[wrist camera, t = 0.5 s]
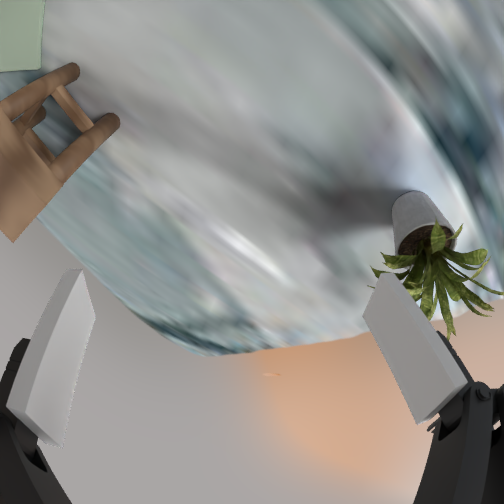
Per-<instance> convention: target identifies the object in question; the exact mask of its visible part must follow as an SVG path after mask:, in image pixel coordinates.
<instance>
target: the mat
mask: <svg viewBox="0 0 504 504" xmlns="http://www.w3.org/2000/svg"><path fill="white" fill-rule="evenodd" d="M44 7H45V0H0V72H5V71H17V70H38V69H40V68H41V41H42V26H43V15H44Z"/></svg>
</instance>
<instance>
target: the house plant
mask: <svg viewBox="0 0 504 504" xmlns="http://www.w3.org/2000/svg"><path fill="white" fill-rule="evenodd" d="M392 220H393V231H394V243H395V256H390V255H384V254H383V253H381V254H382V255H383V257H384V259H385V262H386V263H384V264H385V265H386V266H388V267H389V268H392V269H397V268H405V269H408V270H407V271H406V272H404V273H400V274H398V273H394V274H395V275H396V277H397V278H398V279H399V280H402V279H403V278H405V277H406V276H407V275H408V276H407V277H406V279H405V281H404V282H403V284H402V285H403V286H404V287H405V288H406V290H407V291H408V293H409V294H410V295H411V297H412V298H413V299H414V301H415V302H416V301H418V300H419V299H420V298H422V299H421V304H420V309H421V310H422V312H423V313H424V315H425V316H426V317H427V319H428V320H429V321H430V320H431V318H432V316H433V314H434V312H435V309H436V305H437V300H438V299H439V303H440V308H441V313H442V316H443V318H444V320H445V323H446V324H447V339H448V341H449V339H450V334H451V332H452V333H453V334H454V335H456V334H455V329H454V326H453V318H452V315H451V312H450V309H449V302H448V297H447V293H446V290H447V292H448V294H449V296H450V298H451V299H452V300H453V301H459V300H460V299H461V298H462V300H463V301H464V303H465V304H466V305H467V307H468V308H469V309H470V310H471V311H472V312H474V313H476V314H477V315H480V316H485V317H488V316H487V315H484V314H482V313H480V312H478V311H477V310H476V309H475V308H474V307H473V306H472V305H471V304H470V303H469V301H471V302H472V303H474V304H475V305H477V306H479V307H480V308H482V309H484V310H487V311H493V310H492V309H493V308H492V307H491V306H490V305H489V304H486V303H484V302H483V301H482V299H481V298H480V297H479V296H477V295H476V294H474V293H473V292H471V291H470V290H469V289H468V288H467V287H466V286H465V285H464V284H463V283H462V282H465V281H467V280H470V281H472V282H473V283H475V284H477V285H478V286H480V287H482V288H483V289H485V290H487V291H489V292H491V293H494V294H498V295H504V292H498V291H495V290H491V289H489V288H487V287H485V286H484V285H482V284H480V283H478V282H477V281H475V280H473V279H472V278H475V277H477V276H478V274H479V273H480V272H481V271H482V269H483V267H484V266H485V265H486V264H487V263H488V261H489V259H490V258H489V259H488V260H487V262H486V263H485V262H484V263H483V264H482V266H481V267H480V268H473V267H470V266H468V265H465V264H469V265H479V264H481V263H482V262H483V261H484V259H485V258H486V255H487V252H488V249H487V250H485V249H478V250H475V251H472V252H468V253H459V252H455V251H454V249H455V247H456V244H457V237H458V235H459V234H460V232H461V230H462V225H463V224H462V225H461V226H460V228H459V229H458V231H457V232H455V231H454V229H453V228H452V226H451V225H450V224H449V222H448V221H447V220H446V218H445V217H444V216H443V214H442V213H441V212H440V210H439V209H438V208H437V207H436V205H435V204H434V203H433V202H432V200H431V199H430V198H429V197H428V195H426V194H425V193H423V192H420V191H412V192H408V193H405V194H403V195H402V196H400V197H399V198H398V199H397V200H396V201H395V203H394V205H393V207H392ZM491 256H492V255H491ZM447 259H449V260H450V261H453V262H454V263H456V264H458V265H459V266H461V267H462V268H465V269H467V270H477V269H479V270H478V271H477V272H476V273H475V274H474V275H473V276H472V277H471V278H469V277H468V276H466V275H464V274H463V273H461V272H460V271H458V270H457V269H455V268H454V267H453V266H451V265H450V264H449V263H448V262H447V261H446V260H447ZM463 263H465V264H463ZM447 264H448V265H449V266H450V267H452V268H453V269H454V270H455V271H457V272H458V273H459V274H461V275H462V276H464V277H465V278H464V277H462V276H460V275H458V274H456V273H455V272H453V270H452V269H451V268H449V266H448V265H447ZM371 268H372V267H371ZM372 270H373V272H374V274H375V276H376V277H377V278H378V279H379V277H380V274H381V273H391V272H386V271H379V270H376V269H373V268H372ZM410 270H411V271H410ZM423 271H424V273H423ZM409 272H410V273H409ZM423 279H424V280H423ZM434 281H435V285H436V294H435V298H434V302H433V289H434ZM422 284H423V288H422ZM367 286H368V285H367ZM444 286H445V287H444ZM369 287H372V286H369ZM372 288H374V289H375V287H372ZM445 288H446V290H445ZM422 292H423V293H422ZM421 293H422V294H421ZM420 294H421V295H420ZM467 299H468V300H469V301H468V300H467Z"/></svg>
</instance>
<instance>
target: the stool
mask: <svg viewBox="0 0 504 504" xmlns="http://www.w3.org/2000/svg"><path fill="white" fill-rule="evenodd" d="M79 75H80V69H79V66H78V65H77V64H76V63H69V64H67V65H65V66H63V67H61V68H58V69H56V70H54V71H52V72H50V73H48V74H46V75H45V76H43V77H41V78H39V79H37V80H35V81H33V82H32V83H30V84H28V85H26V86H25V87H23V88H21V89H20V90H18V91H16V92H15V93H13V94H11V95H10V96H8V97H7V98H5V99H4V100H2V101H0V230H1V231H2V232H3V233H4V234H5V235H6V236H7V237H8V238H9V239H10V240H11V241H12V242H13V243H14V241H15V240H16V239H17V238H18V237H19V235H20V234H21V233H22V232H23V231H24V230H25V228H26V227H27V226H28V225H29V224H30V223H31V222H32V220H33V219H34V218H35V217H36V216H37V215H38V214H39V213H40V212H41V211H42V210H43V208H44V207H45V206H46V205H47V204H48V203H49V202H50V200H51V199H52V198H53V197H54V196H55V194H56V193H57V192H58V191H59V190H60V188H61V187H62V186H63V184H64V183H65V182H66V181H67V180H68V179H69V177H70V176H71V175H72V174H73V173H74V172H75V171H76V170H77V169H78V168H79V167H80V166H81V164H82V163H83V162H84V161H85V160H86V159H87V158H88V157H89V156H90V155H91V154H92V153H93V152H94V151H95V150H96V149H97V148H98V147H99V146H100V145H101V144H102V143H103V142H104V141H105V140H107V139H108V138H109V137H110V136H111V135H112V134H113V133H114V132H115V131H116V130H117V129H118V128H119V127H120V119H119V117H118V116H117V115H116V114H114V113H108V114H106V115H105V116H104V117H102V118H101V119H100V120H98V121H97V122H96V123H95V124H93V123H92V122H91V120H90V119H89V118H88V117H87V115H86V114H85V113H84V112H83V110H82V109H81V108H80V107H79V105H78V104H77V103H76V102H75V100H74V99H73V98H72V96H71V95H70V94H69V93H68V91H67V90H66V89H65V87H64V86H66V85H68V84H69V83H71V82H73V81H75V80H77V79H78V77H79ZM49 95H52V96H53V97H54V99H55V100H56V101H57V102H58V104H59V105H60V106H61V108H62V109H63V110H64V111H65V113H66V114H67V115H68V116H69V118H70V119H71V120H72V121H73V123H74V124H75V125H76V126H77V128H78V129H79V130H80V131H81V132H82V135H80V136H79V137H78V138H77V139H76V140H75V141H74V142H72V143H71V144H70V145H69V146H68V147H67V148H66V149H65V150H64V151H63V152H62V153H61V154H59V155H58V156H57V157H56V158H55V157H54V155H53V154H52V153H51V152H50V151H49V149H48V148H47V147H46V146H45V145H44V143H43V142H42V141H41V140H40V139H39V137H38V136H37V135H36V134H35V132H34V131H33V130H32V128H33V127H34V126H36V125H37V124H38V123H40V122H41V121H42V120H44V119H45V117H46V111H45V108H44V107H43V106H42V104H43V102H44V101H45V99H46V98H47V97H48V96H49ZM23 112H25V113H24V114H23V115H22V116H21V117H19V118H18V119H17V120H15V121H14V122H13V123H12V122H11V121H12V120H14V119H15V118H16V117H18V116H19V115H20V114H22V113H23Z"/></svg>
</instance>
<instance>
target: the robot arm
mask: <svg viewBox="0 0 504 504" xmlns="http://www.w3.org/2000/svg"><path fill="white" fill-rule="evenodd" d="M363 318H364V320H365V321H366V323H367V325H368V327H369V329H370V331H371V333H372V334H373V336H374V338H375V340H376V342H377V344H378V346H379V348H380V350H381V351H382V354H383V355H384V357H385V359H386V361H387V363H388V365H389V367H390V369H391V371H392V373H393V375H394V377H395V379H396V381H397V383H398V386H399V388H400V390H401V392H402V394H403V396H404V398H405V400H406V402H407V404H408V407H409V409H410V411H411V413H412V415H413V417H414V419H415V422H416V424H417V425H418V424H421V423H423V422H426V421H428V420H430V419H431V418H433V417H434V416H435V415H436V414H437V413H439V415H440V417H439V418H438V419H437V420H436V421H435V422H433V423H432V424H431V425H430V426H429V427H428V429H427V431H430V430H431V429H432V428H433V427H435V429H434V430H433V431H432V433H434V435H433V439H432V444H431V448H430V452H429V455H428V459H427V463H426V466H425V470H424V473H423V476H422V480H421V482H420V486H419V488H418V491H417V495H416V497H415V500H414V503H413V504H504V384H503V385H502V386H501V387H500V388H499V389H490V388H489V387H488V386H487V385H486V384H485V383H483V382H479V381H478V382H474V380H473V379H472V377H471V375H470V374H469V372H468V370H467V369H466V367H465V366H464V364H463V362H462V361H461V359H460V358H459V356H457V353H456V352H455V350H454V349H452V346H451V344H450V342H449V341H448V339H447V338H446V337H445V336H444V335H442V334H441V333H440V332H439V331H435V329H434V328H433V326H432V325H431V323H430V322H429V320H428V319H427V317H426V316H425V315H424V313H423V312H422V310H421V309H420V308H419V306H418V305H417V303H416V302H415V301H414V299H413V298H412V297H411V295H410V294H409V293H408V291H407V290H406V288H405V287H404V286H403V285H402V283H401V282H400V281H399V279H398V278H397V277H396V275H395V274H394V273H381V274H380V277H379V279H378V282H377V284H376V286H375V289H374V291H373V293H372V296H371V298H370V300H369V303H368V305H367V307H366V309H365V311H364V314H363ZM95 319H96V316H95V313H94V309H93V307H92V303H91V300H90V296H89V293H88V289H87V286H86V282H85V278H84V275H83V271H82V269H66V271H65V273H64V275H63V276H62V278H61V280H60V282H59V284H58V285H57V287H56V289H55V291H54V293H53V295H52V297H51V299H50V301H49V303H48V304H47V306H46V308H45V311H44V312H43V314H42V316H41V319H40V321H39V323H38V325H37V327H36V329H35V331H34V334H33V336H32V338H31V339H25V338H23V339H22V340H21V341H20V342H19V343H18V344H17V345H16V346H15V347H14V350H13V352H12V354H11V357H10V361H9V362H8V364H7V366H6V370H5V371H4V374H3V376H2V379H1V382H0V504H72V503H71V501H70V500H69V498H68V497H67V495H66V493H65V492H64V490H63V489H62V487H61V485H60V484H59V482H58V480H57V479H56V477H55V475H54V474H53V472H52V470H51V468H50V466H49V465H48V463H47V461H46V459H45V457H44V455H43V453H42V451H41V449H40V448H39V446H38V445H37V440H38V438H40V439H41V440H42V441H43V442H44V443H46V444H49V445H53V446H56V447H60V448H63V445H64V439H65V433H66V428H67V423H68V418H69V412H70V408H71V404H72V399H73V395H74V391H75V387H76V383H77V379H78V375H79V371H80V368H81V364H82V360H83V357H84V354H85V350H86V347H87V344H88V340H89V337H90V334H91V331H92V328H93V325H94V322H95ZM499 420H500V423H501V426H500V427H498V428H497V429H496V430H494V428H493V425H494V424H495V423H497V422H498V421H499Z"/></svg>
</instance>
